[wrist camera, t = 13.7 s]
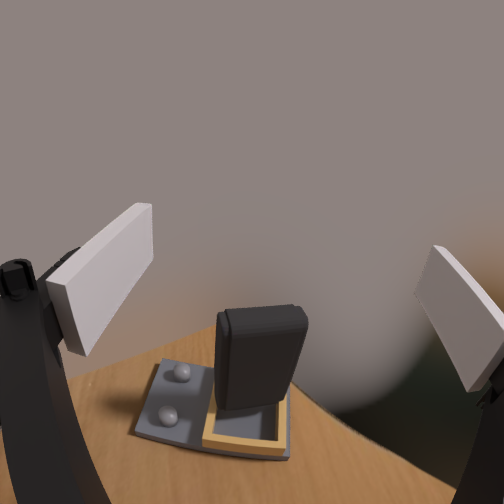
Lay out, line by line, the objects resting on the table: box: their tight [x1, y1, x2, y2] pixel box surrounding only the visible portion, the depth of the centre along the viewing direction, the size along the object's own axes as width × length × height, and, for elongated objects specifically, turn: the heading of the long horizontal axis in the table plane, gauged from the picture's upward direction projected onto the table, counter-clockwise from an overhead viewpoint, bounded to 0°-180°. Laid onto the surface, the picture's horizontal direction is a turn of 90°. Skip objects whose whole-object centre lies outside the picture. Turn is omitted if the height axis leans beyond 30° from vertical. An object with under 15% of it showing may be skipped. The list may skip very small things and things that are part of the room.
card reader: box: [214, 304, 308, 411], centre depth 33 cm, size 9×4×15 cm, turn 105°
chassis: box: [135, 358, 290, 461], centre depth 37 cm, size 20×14×4 cm
